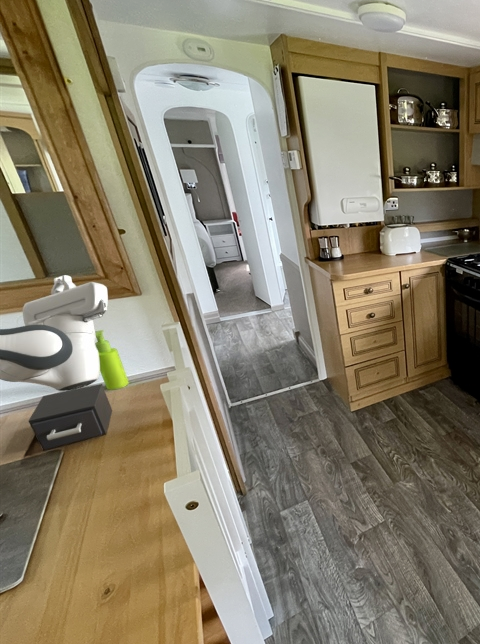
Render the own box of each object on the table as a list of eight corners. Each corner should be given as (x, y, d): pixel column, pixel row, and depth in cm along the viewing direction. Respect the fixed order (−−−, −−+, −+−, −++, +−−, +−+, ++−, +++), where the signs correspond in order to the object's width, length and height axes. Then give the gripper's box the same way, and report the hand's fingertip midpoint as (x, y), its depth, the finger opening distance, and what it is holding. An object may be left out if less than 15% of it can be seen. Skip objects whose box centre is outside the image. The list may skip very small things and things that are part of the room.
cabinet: (106, 434, 107) (94, 405, 103) (43, 451, 100) (28, 420, 97) (112, 410, 118) (101, 383, 114) (56, 424, 111) (42, 396, 107)
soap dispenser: (128, 378, 137) (110, 327, 129) (128, 386, 132) (109, 333, 124) (107, 383, 133) (87, 331, 126) (106, 391, 128) (85, 337, 121)
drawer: (99, 442, 102) (89, 418, 100) (39, 458, 96) (27, 433, 93) (108, 412, 116) (99, 390, 113) (55, 424, 109) (45, 401, 106)
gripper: (93, 313, 93) (85, 261, 95) (19, 337, 94) (12, 285, 95) (119, 317, 99) (110, 268, 101) (49, 339, 100) (42, 291, 102)
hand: (62, 277), depth 98 cm, fingers closed
